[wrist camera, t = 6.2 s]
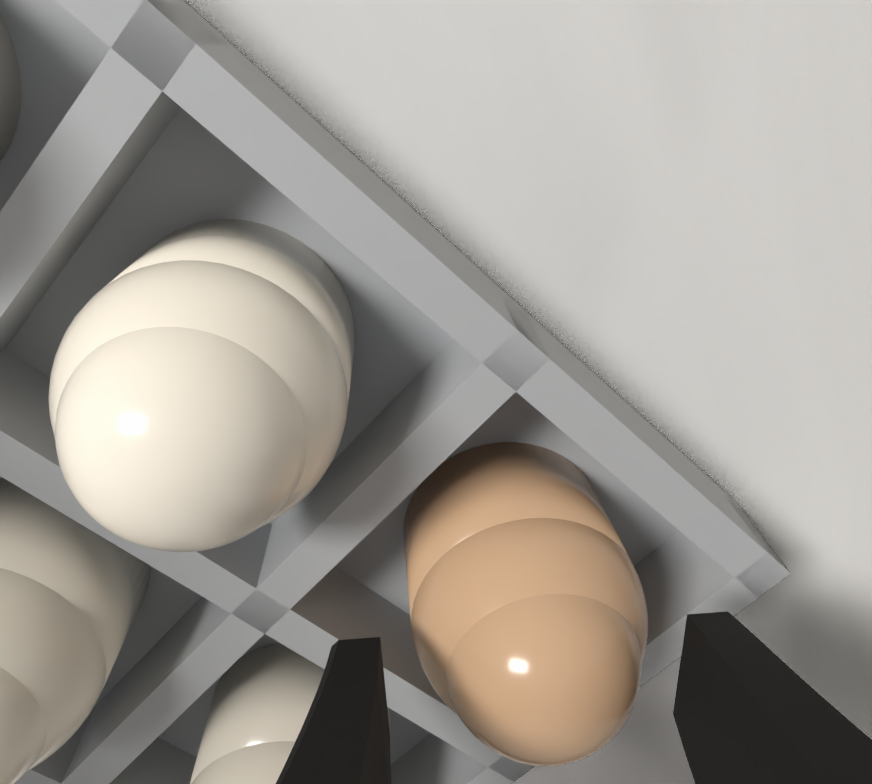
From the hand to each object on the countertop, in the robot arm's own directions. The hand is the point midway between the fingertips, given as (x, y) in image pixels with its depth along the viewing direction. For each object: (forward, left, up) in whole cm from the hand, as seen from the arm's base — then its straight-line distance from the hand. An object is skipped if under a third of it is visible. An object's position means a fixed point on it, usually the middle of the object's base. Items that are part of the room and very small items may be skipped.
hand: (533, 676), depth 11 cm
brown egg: (0, 0, -4) cm, 4 cm away
